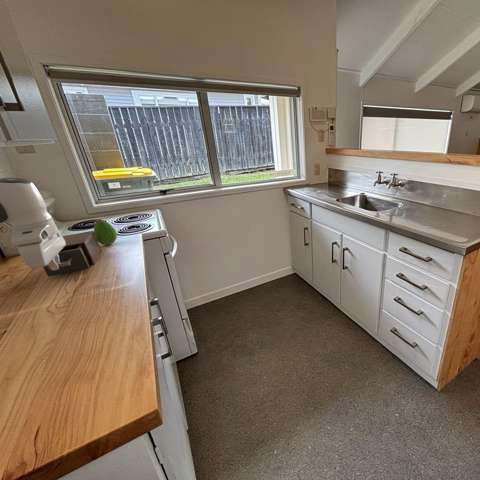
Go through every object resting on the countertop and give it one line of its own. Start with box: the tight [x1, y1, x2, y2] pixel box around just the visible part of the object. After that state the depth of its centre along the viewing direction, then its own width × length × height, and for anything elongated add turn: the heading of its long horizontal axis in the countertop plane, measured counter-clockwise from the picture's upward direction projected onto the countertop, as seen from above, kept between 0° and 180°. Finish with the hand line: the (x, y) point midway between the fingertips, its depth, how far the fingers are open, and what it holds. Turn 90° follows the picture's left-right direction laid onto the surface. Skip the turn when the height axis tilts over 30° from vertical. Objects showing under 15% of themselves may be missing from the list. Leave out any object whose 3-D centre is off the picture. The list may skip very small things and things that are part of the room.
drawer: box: [42, 245, 90, 278], centre depth 95 cm, size 18×11×8 cm, turn 29°
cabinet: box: [62, 230, 103, 267], centre depth 101 cm, size 15×13×10 cm
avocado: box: [93, 219, 118, 246], centre depth 117 cm, size 8×8×12 cm
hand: (57, 268), depth 86 cm, fingers closed
